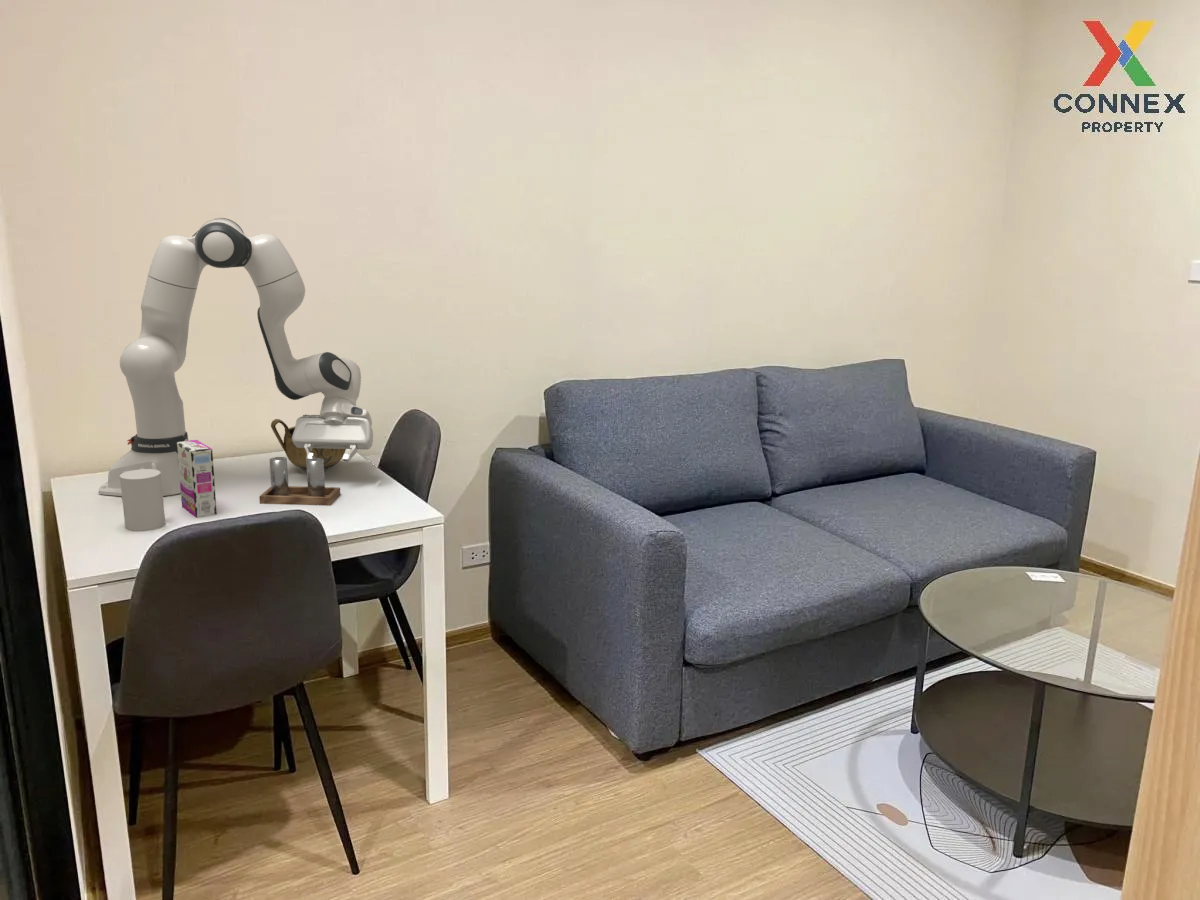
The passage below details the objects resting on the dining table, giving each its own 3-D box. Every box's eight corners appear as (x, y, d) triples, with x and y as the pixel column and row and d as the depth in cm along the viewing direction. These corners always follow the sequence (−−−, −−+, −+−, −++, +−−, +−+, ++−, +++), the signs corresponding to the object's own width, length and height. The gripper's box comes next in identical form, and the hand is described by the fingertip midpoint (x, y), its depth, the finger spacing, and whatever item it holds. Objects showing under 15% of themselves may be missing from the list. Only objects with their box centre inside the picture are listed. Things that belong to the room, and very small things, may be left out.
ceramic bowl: (348, 457, 271) (345, 406, 267) (365, 471, 256) (363, 418, 253) (268, 465, 259) (265, 413, 256) (282, 481, 245) (278, 425, 242)
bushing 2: (306, 501, 227) (304, 462, 225) (311, 496, 231) (309, 457, 229) (322, 501, 227) (320, 462, 225) (327, 497, 231) (325, 458, 229)
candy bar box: (218, 516, 217) (213, 448, 213) (196, 520, 213) (190, 451, 209) (202, 504, 225) (197, 438, 221) (181, 508, 222) (175, 441, 218)
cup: (171, 519, 214) (166, 469, 211) (156, 531, 206) (151, 479, 203) (135, 519, 213) (130, 468, 210) (118, 531, 205) (112, 478, 202)
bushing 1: (269, 500, 227) (267, 460, 225) (275, 495, 231) (272, 456, 229) (285, 500, 227) (283, 461, 225) (291, 496, 231) (289, 457, 229)
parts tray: (259, 505, 225) (259, 496, 224) (272, 494, 234) (272, 485, 233) (330, 507, 225) (329, 498, 224) (340, 496, 234) (340, 487, 233)
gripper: (294, 408, 242) (284, 454, 235) (373, 410, 242) (365, 456, 234) (301, 421, 247) (291, 466, 240) (378, 423, 247) (370, 468, 240)
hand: (328, 461), depth 237 cm, fingers open, 8 cm apart
